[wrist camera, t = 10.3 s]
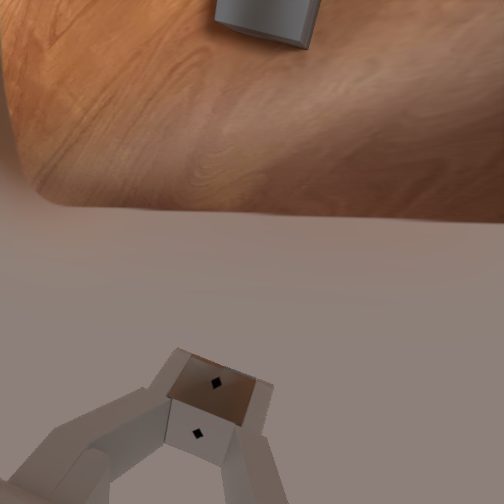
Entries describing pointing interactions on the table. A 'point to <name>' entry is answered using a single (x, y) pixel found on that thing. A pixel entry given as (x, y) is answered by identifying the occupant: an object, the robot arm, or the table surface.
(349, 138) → the table surface
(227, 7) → the charcoal block
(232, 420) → the robot arm
